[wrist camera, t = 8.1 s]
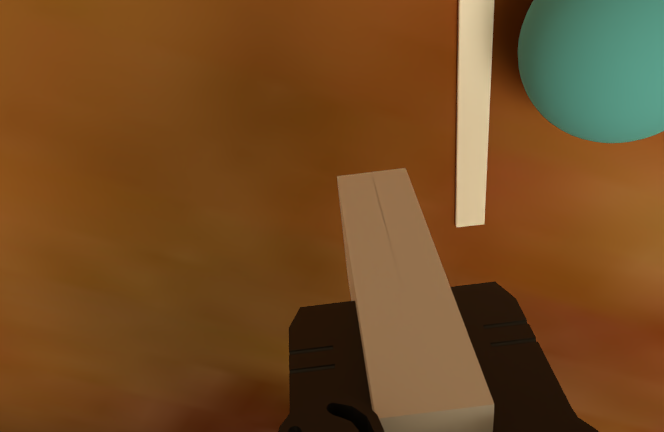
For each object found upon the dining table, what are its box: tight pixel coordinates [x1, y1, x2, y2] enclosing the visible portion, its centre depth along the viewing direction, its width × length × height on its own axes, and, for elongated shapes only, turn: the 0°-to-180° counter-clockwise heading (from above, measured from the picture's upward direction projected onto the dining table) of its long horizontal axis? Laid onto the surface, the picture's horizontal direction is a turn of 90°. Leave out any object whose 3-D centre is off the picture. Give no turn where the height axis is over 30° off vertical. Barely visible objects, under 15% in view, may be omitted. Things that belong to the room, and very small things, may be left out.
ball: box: [518, 0, 664, 143], centre depth 19 cm, size 6×6×6 cm
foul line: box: [455, 0, 494, 227], centre depth 22 cm, size 16×1×1 cm, turn 6°
